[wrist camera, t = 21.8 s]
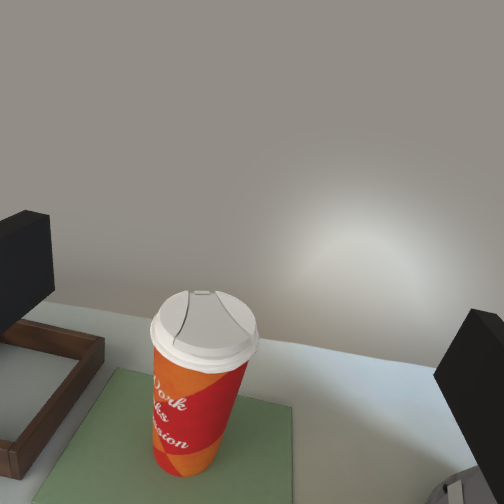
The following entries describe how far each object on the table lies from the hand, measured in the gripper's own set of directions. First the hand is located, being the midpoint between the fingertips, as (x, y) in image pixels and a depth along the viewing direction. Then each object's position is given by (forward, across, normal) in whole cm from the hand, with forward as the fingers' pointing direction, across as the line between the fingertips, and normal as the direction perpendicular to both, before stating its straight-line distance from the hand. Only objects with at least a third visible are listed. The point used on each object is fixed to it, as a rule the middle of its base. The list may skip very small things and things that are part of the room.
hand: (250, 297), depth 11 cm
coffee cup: (+11, -3, -25) cm, 28 cm away
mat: (+11, -3, -25) cm, 28 cm away
